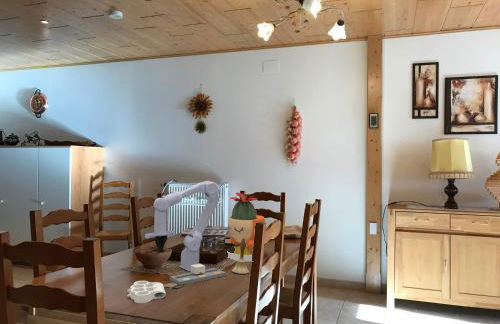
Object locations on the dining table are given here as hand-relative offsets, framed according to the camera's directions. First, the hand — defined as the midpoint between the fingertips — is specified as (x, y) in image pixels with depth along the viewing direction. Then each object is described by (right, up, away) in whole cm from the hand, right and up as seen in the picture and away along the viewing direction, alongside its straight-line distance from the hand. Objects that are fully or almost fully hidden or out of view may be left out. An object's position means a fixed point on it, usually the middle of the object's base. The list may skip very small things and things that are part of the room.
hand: (160, 251), depth 196 cm
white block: (+20, -8, -9) cm, 23 cm away
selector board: (+19, -10, -9) cm, 23 cm away
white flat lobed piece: (+1, -11, -32) cm, 34 cm away
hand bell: (+38, -10, +2) cm, 40 cm away
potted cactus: (+41, -10, +32) cm, 53 cm away
